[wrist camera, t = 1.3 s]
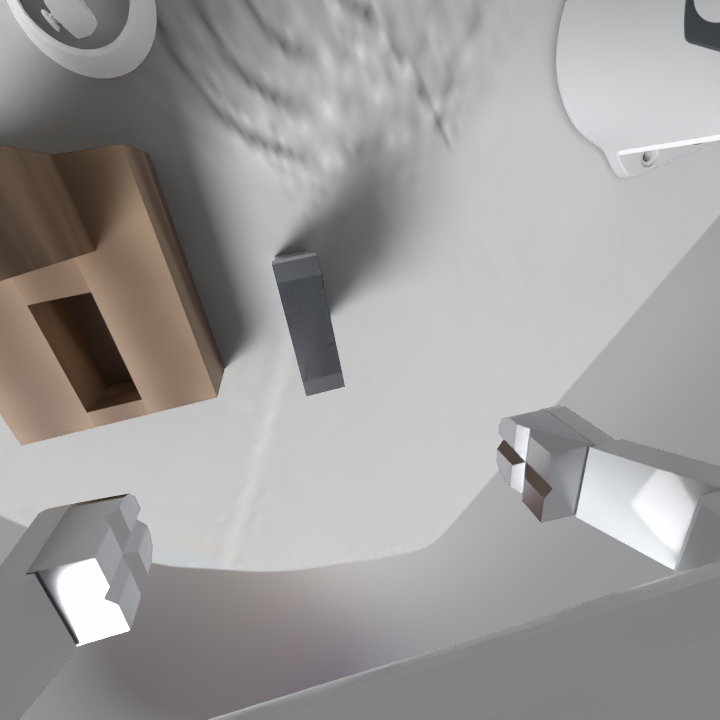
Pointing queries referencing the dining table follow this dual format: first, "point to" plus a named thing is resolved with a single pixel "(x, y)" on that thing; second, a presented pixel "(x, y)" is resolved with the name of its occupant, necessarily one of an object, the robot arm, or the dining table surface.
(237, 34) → the dining table surface
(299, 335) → the grey rectangular block
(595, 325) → the dining table surface
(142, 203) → the wooden l-shaped post
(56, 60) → the white ring with bar
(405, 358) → the dining table surface
